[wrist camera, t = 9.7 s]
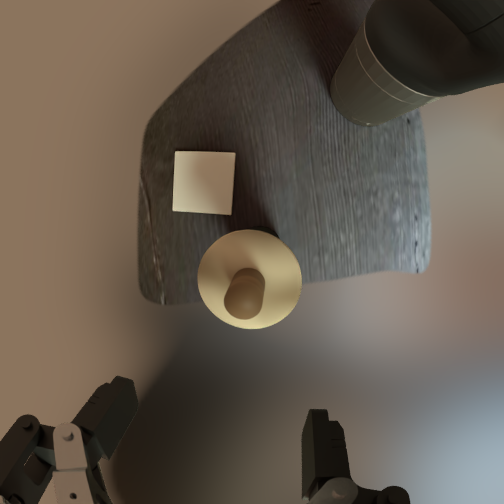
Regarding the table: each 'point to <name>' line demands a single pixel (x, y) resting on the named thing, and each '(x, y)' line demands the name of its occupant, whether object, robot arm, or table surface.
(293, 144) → the table surface
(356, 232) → the table surface
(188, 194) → the plate
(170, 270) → the table surface
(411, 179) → the table surface
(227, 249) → the lid
